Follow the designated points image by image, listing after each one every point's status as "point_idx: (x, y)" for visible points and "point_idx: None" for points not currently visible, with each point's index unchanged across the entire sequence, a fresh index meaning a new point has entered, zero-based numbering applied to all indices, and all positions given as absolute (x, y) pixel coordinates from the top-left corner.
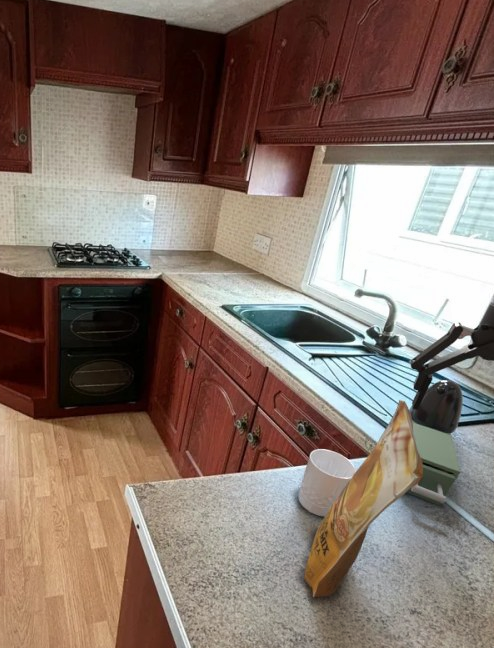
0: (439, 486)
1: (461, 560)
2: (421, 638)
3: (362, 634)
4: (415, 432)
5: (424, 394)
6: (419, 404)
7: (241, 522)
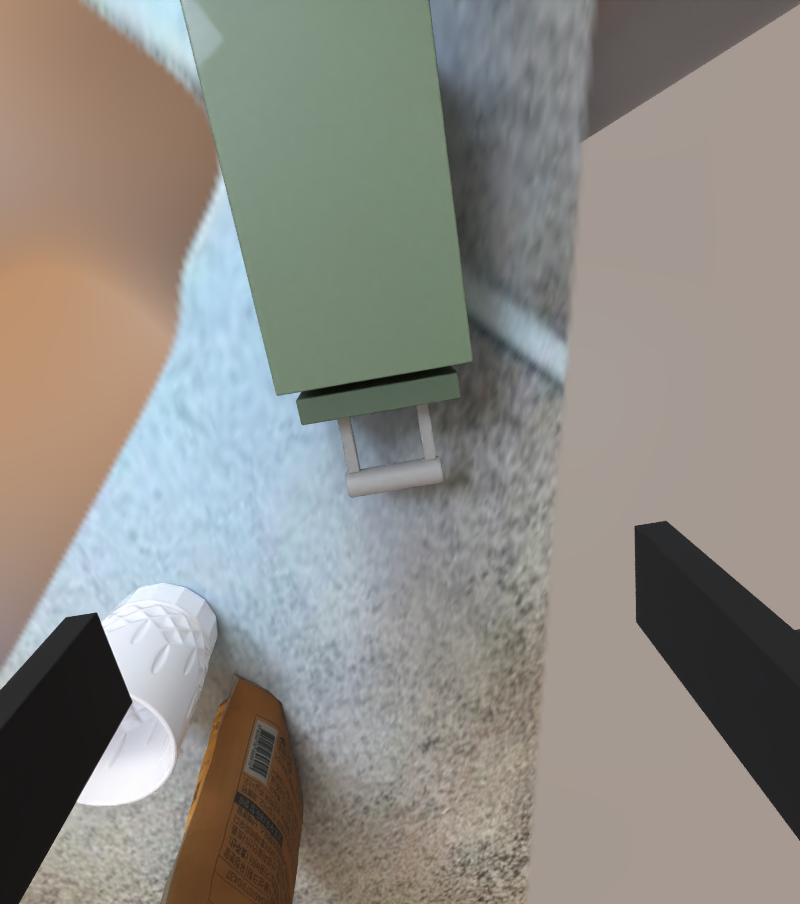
0: (420, 410)
1: (504, 542)
2: (445, 782)
3: (365, 837)
4: (253, 126)
5: (56, 828)
6: (107, 740)
7: None
